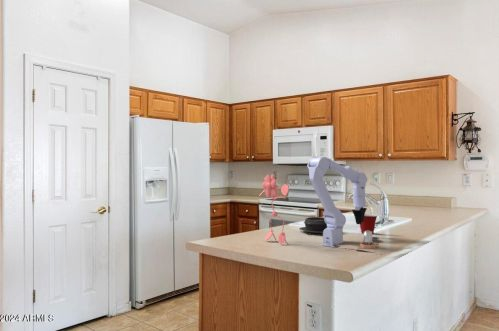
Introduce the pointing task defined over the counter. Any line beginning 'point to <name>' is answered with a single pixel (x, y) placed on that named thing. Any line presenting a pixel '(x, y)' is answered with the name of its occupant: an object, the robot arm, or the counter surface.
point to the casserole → (314, 225)
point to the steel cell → (367, 237)
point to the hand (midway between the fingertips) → (359, 223)
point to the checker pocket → (375, 239)
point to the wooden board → (365, 248)
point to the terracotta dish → (368, 246)
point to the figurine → (271, 190)
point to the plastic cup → (368, 223)
